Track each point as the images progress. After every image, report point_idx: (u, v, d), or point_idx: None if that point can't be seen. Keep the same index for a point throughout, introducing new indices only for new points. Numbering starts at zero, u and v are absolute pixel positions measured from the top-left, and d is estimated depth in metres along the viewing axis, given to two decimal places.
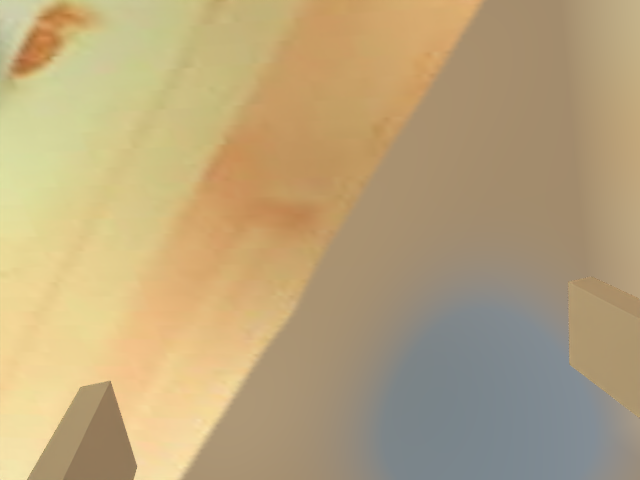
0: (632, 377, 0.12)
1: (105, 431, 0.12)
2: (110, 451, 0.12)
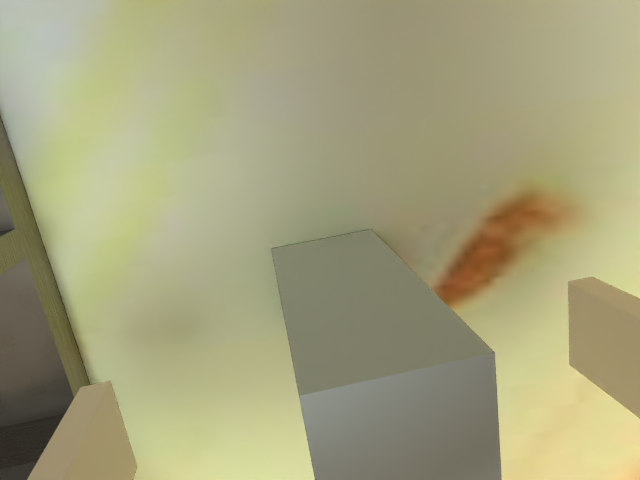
0: (632, 377, 0.12)
1: (105, 431, 0.12)
2: (110, 451, 0.12)
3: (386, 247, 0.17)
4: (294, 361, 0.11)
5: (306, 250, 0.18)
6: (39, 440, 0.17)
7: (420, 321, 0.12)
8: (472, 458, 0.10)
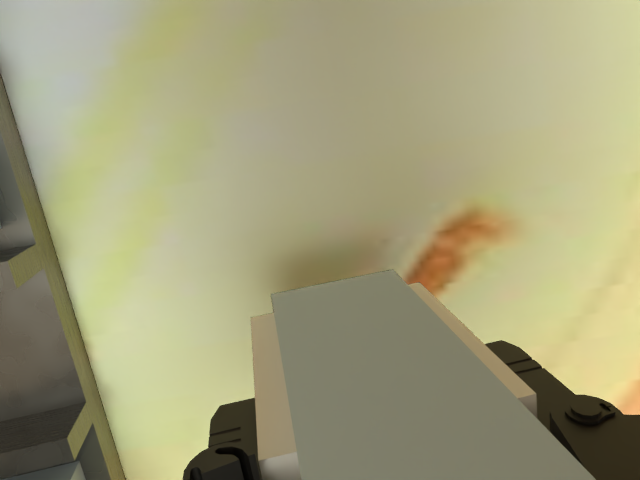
0: None
1: None
2: None
3: (416, 297, 0.13)
4: None
5: (314, 299, 0.14)
6: (53, 425, 0.19)
7: (488, 433, 0.08)
8: None
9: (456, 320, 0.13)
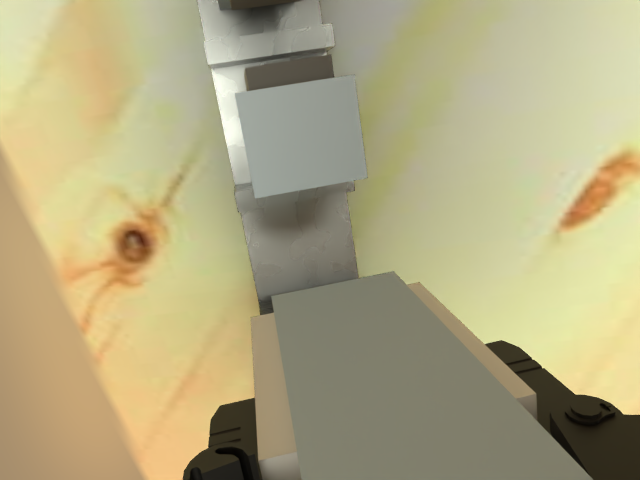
0: None
1: None
2: None
3: (417, 300, 0.13)
4: None
5: (315, 301, 0.14)
6: None
7: (490, 437, 0.08)
8: None
9: (456, 320, 0.13)
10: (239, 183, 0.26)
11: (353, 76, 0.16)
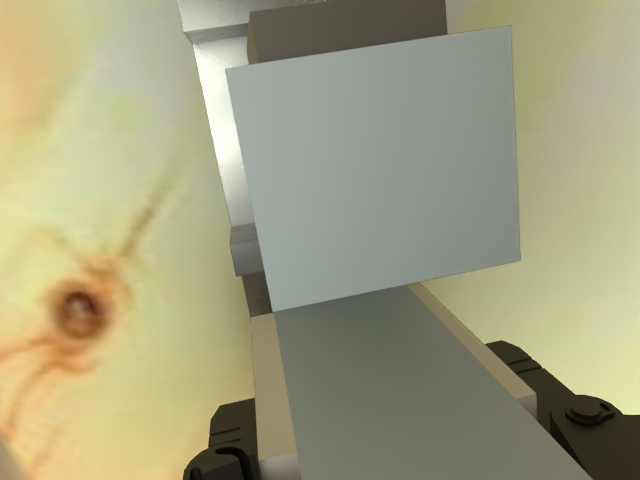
0: None
1: None
2: None
3: (417, 300, 0.13)
4: None
5: None
6: None
7: (490, 437, 0.08)
8: None
9: (456, 320, 0.13)
10: (238, 223, 0.17)
11: (508, 30, 0.07)
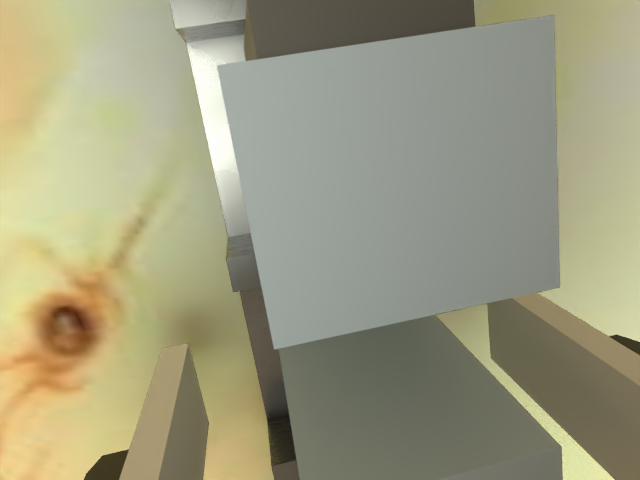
0: (533, 369, 0.13)
1: (189, 385, 0.13)
2: (193, 403, 0.13)
3: None
4: (298, 453, 0.08)
5: None
6: None
7: (454, 392, 0.09)
8: None
9: (568, 314, 0.12)
10: (235, 234, 0.16)
11: (550, 21, 0.06)
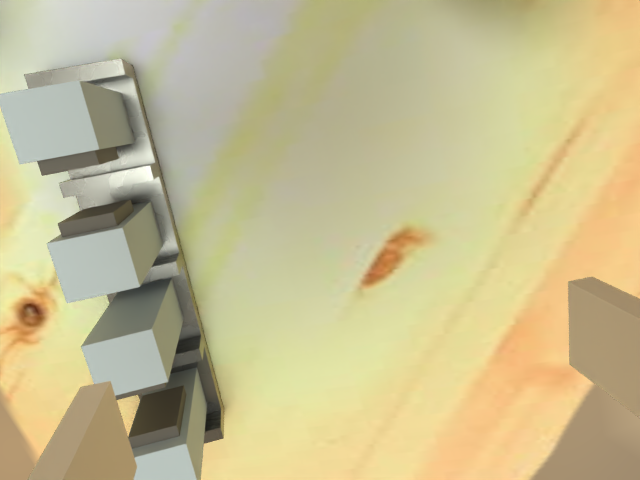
0: (632, 377, 0.12)
1: (105, 431, 0.12)
2: (110, 451, 0.12)
3: (166, 288, 0.36)
4: (88, 336, 0.29)
5: (133, 290, 0.37)
6: (189, 345, 0.38)
7: (142, 320, 0.30)
8: (152, 368, 0.29)
9: None
10: None
11: (122, 228, 0.27)
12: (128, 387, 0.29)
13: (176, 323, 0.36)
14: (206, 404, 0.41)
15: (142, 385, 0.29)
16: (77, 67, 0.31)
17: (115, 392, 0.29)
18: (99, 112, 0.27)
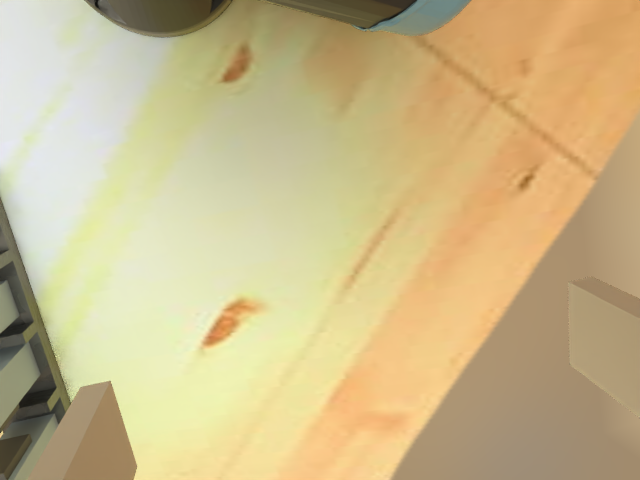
0: (632, 377, 0.12)
1: (105, 431, 0.12)
2: (110, 451, 0.12)
3: (16, 354, 0.43)
4: None
5: None
6: (42, 397, 0.46)
7: None
8: None
9: None
10: None
11: None
12: None
13: (23, 383, 0.43)
14: None
15: None
16: None
17: None
18: None
